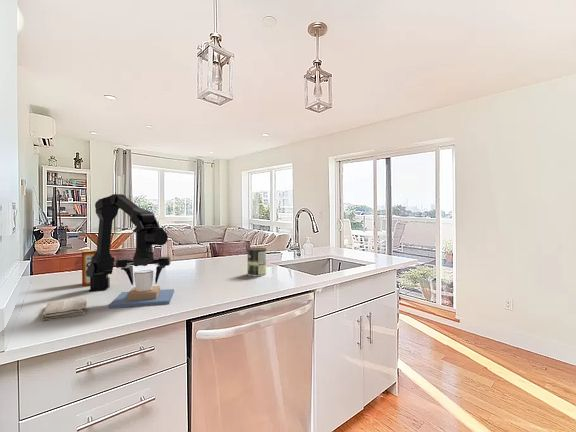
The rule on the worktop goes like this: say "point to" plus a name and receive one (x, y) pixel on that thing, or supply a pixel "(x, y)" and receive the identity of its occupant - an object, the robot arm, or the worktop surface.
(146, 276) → the white cup
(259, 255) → the coffee can
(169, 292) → the board
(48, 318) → the washcloth
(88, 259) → the baking soda box
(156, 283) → the robot arm
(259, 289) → the worktop surface
